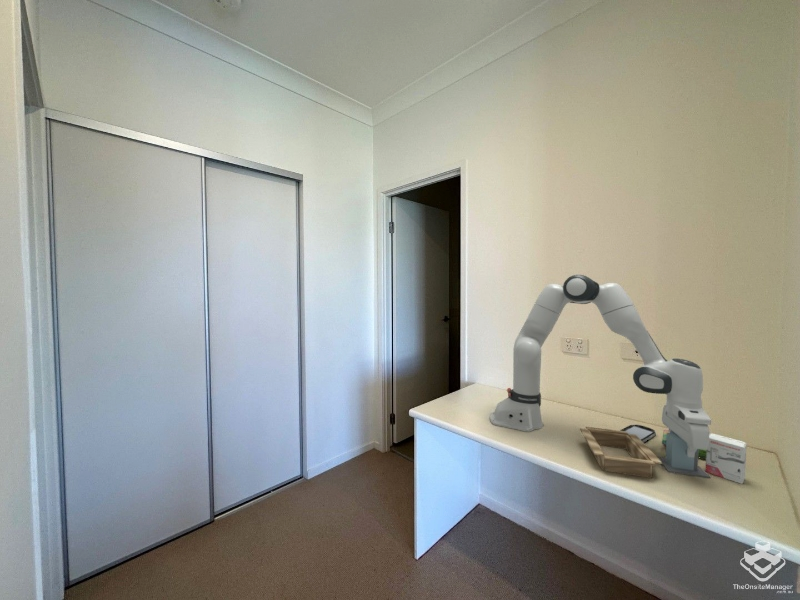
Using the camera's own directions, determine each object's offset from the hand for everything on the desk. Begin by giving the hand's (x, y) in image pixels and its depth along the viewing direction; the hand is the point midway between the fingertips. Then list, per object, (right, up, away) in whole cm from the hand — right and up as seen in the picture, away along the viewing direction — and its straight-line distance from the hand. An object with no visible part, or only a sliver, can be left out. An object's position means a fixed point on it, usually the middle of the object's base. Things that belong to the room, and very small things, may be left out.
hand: (681, 449), depth 106 cm
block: (0, -6, 0) cm, 6 cm away
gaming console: (+2, -6, +23) cm, 24 cm away
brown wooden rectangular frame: (-18, -6, +6) cm, 20 cm away
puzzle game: (+15, -7, +10) cm, 19 cm away
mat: (0, -6, 0) cm, 6 cm away
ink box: (+10, -7, -4) cm, 13 cm away
